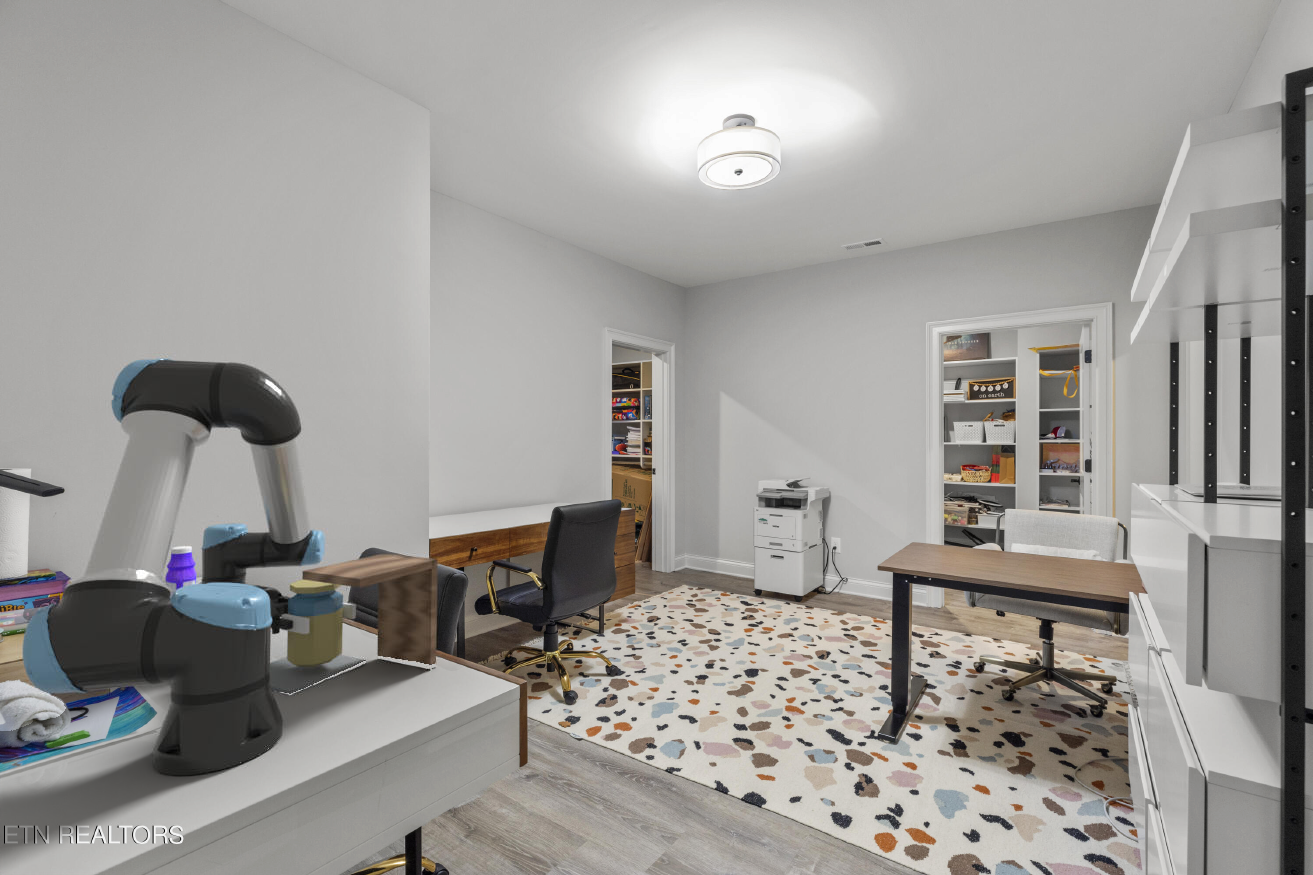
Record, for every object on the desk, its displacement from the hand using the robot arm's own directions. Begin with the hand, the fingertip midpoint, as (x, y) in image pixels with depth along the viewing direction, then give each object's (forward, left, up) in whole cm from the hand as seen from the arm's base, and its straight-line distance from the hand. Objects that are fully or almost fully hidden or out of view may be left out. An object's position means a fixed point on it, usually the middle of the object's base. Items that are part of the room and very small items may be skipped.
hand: (331, 618), depth 111 cm
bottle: (+59, +35, -11) cm, 70 cm away
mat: (+5, +5, -11) cm, 13 cm away
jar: (+3, +3, -9) cm, 10 cm away
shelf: (-4, -7, -11) cm, 14 cm away
